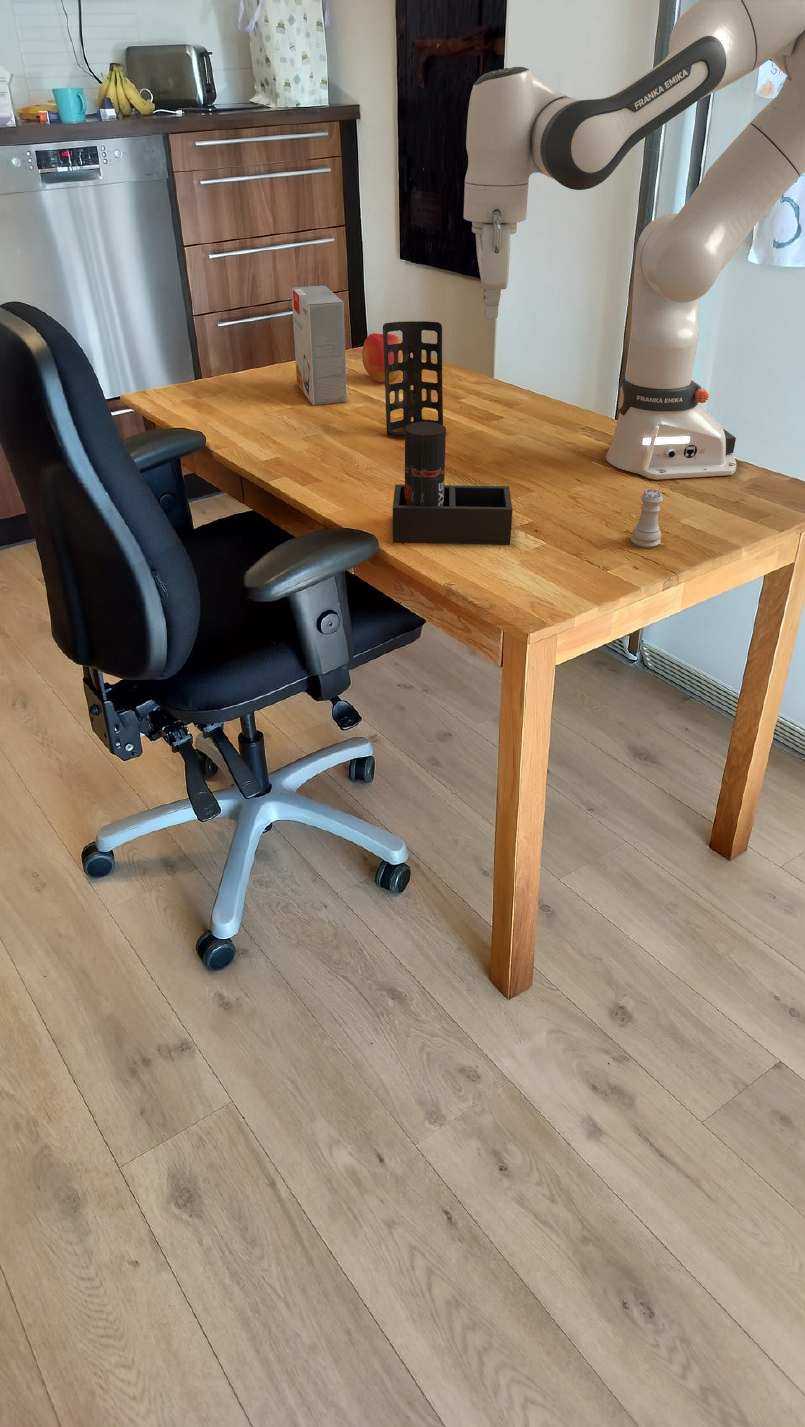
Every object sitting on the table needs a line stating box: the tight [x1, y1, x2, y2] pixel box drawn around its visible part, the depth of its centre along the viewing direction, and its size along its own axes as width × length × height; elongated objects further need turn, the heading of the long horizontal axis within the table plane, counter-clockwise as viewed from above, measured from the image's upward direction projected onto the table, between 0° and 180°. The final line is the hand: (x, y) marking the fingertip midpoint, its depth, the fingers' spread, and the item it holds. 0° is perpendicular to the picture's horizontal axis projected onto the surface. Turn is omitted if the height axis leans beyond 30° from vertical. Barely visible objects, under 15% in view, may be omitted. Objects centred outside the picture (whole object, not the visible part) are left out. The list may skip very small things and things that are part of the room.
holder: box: [382, 320, 444, 438], centre depth 185 cm, size 11×8×20 cm
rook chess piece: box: [630, 488, 664, 549], centre depth 146 cm, size 4×4×8 cm
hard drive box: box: [290, 285, 348, 406], centre depth 205 cm, size 16×8×20 cm, turn 17°
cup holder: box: [392, 483, 514, 546], centre depth 150 cm, size 9×18×6 cm, turn 88°
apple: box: [361, 332, 403, 384], centre depth 215 cm, size 10×10×10 cm
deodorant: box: [404, 422, 447, 506], centre depth 147 cm, size 6×6×15 cm
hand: (490, 310), depth 147 cm, fingers open, 8 cm apart
